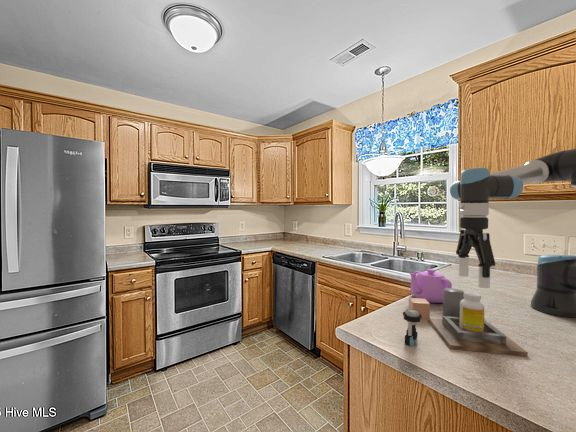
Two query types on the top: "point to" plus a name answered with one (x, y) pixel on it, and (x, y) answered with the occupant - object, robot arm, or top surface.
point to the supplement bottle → (471, 313)
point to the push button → (411, 326)
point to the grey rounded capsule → (452, 302)
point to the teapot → (429, 285)
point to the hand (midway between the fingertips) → (473, 281)
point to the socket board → (475, 338)
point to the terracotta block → (420, 306)
